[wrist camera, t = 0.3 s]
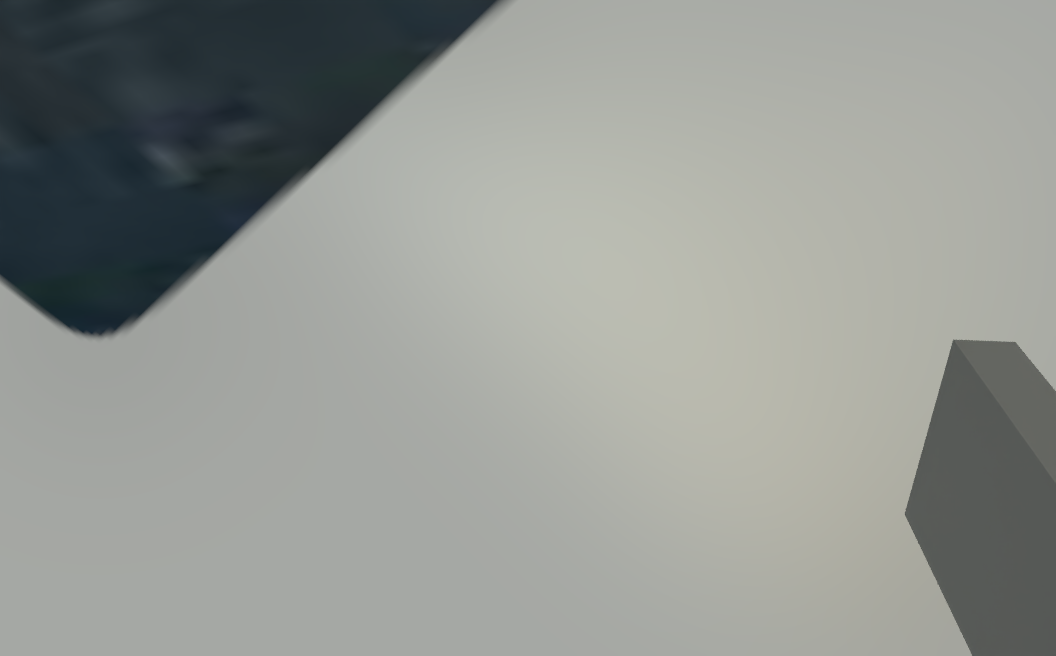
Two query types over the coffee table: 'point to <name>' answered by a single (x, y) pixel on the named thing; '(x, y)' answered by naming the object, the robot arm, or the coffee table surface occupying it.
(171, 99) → the coffee table surface
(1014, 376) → the robot arm
